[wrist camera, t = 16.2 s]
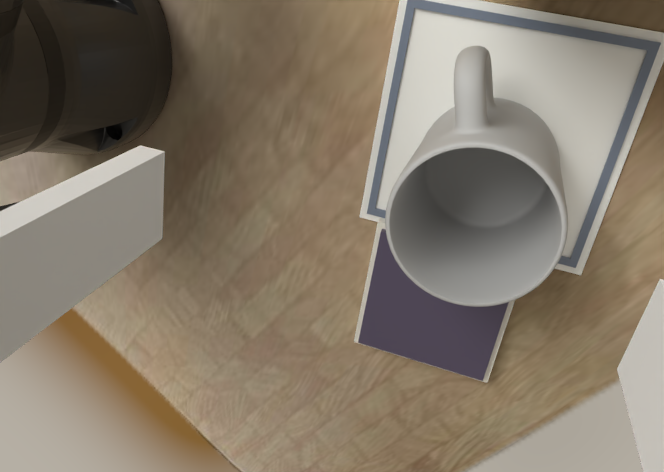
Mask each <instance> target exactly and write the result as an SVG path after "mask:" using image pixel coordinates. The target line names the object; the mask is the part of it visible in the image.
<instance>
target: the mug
mask: <svg viewBox="0 0 664 472" xmlns="http://www.w3.org/2000/svg"><path fill="white" fill-rule="evenodd" d="M454 104H455V106H454V107H453V108H451V109H449V110H448V111H447V112H445V113H444V114H443V115H441V116H440V117H439V118H438V119H437V120H436V121H435V122H434V123H433V125H432V126H431V127H430V129H429V130H428V132H427V133H426V135H425V137H424V138H423V140H422V142H421V144H420V145H419V147H418V148H417V150H416V151H415V153H414V154H413V156H412V157H411V159H410V160H409V162H408V163H407V165H406V166H405V168H404V169H403V171H402V172H401V174H400V175H399V177H398V179H397V181H396V182H395V184H394V186H393V188H392V191H391V193H390V196H389V199H388V203H387V207H386V215H385V228H386V235H387V240H388V243H389V246H390V250H391V252H392V254H393V256H394V258H395V260H396V262H397V263H398V265H399V266H400V268H401V269H402V270H403V272H404V273H405V274H406V275H407V277H408V278H410V279H411V280H412V281H413V282H414V283H415V284H416V285H417V286H419V287H420V288H421V289H423V290H424V291H426V292H427V293H429V294H431V295H433V296H435V297H437V298H439V299H441V300H444V301H447V302H450V303H453V304H458V305H463V306H473V307H486V306H494V305H500V304H504V303H507V302H511V301H513V300H516V299H518V298H520V297H522V296H524V295H526V294H528V293H529V292H531V291H532V290H534V289H535V288H536V287H538V286H539V285H540V284H541V283H542V282H543V281H544V280H545V279H546V278H547V277H548V276H549V275H550V274H551V272H552V271H553V270H554V269H555V267H556V265H557V263H558V262H559V260H560V258H561V256H562V253H563V251H564V248H565V244H566V239H567V233H568V213H567V206H566V199H565V193H564V187H563V181H562V175H561V168H560V156H559V151H558V146H557V144H556V141H555V138H554V136H553V134H552V132H551V131H550V129H549V127H548V126H547V125H546V123H545V122H544V121H543V120H542V119H541V118H540V117H539V116H538V115H537V114H536V113H534V112H533V111H532V110H530V109H529V108H527V107H525V106H523V105H522V104H519V103H517V102H514V101H511V100H507V99H503V98H494V97H493V80H492V65H491V58H490V53H489V51H488V50H487V49H486V48H485V47H482V46H470V47H467V48H465V49H463V50H461V52H460V53H459V54H458V56H457V59H456V62H455V69H454Z"/></svg>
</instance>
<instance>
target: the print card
mask: <svg viewBox="0 0 664 472" xmlns="http://www.w3.org/2000/svg"><path fill="white" fill-rule="evenodd" d="M470 46H482V47H485V48H486V49H487V50H488V51H489V53H490V58H491V65H492V80H493V97H494V98H503V99H507V100H511V101H514V102H517V103H519V104H522V105H523V106H525V107H527V108H529V109H530V110H532V111H533V112H534V113H536V114H537V115H538V116H539V117H540V118H541V119H542V120H543V121H544V122H545V123H546V125H547V126H548V127H549V129H550V131H551V132H552V134H553V136H554V138H555V141H556V144H557V146H558V151H559V156H560V168H561V175H562V181H563V187H564V193H565V199H566V206H567V213H568V233H567V239H566V244H565V248H564V251H563V253H562V256H561V258H560V260H559V262H558V263H557V265H556V267H555V269H558V270H562V271H566V272H570V273H573V274H577V275H581V274H582V272H583V269H584V266H585V264H586V261H587V259H588V256H589V253H590V251H591V248H592V246H593V243H594V240H595V238H596V235H597V233H598V230H599V228H600V225H601V222H602V220H603V217H604V215H605V212H606V209H607V207H608V204H609V202H610V199H611V196H612V194H613V191H614V189H615V186H616V183H617V181H618V178H619V176H620V173H621V171H622V168H623V165H624V163H625V160H626V158H627V155H628V152H629V150H630V147H631V145H632V142H633V139H634V137H635V134H636V132H637V129H638V126H639V124H640V121H641V119H642V116H643V114H644V111H645V108H646V106H647V103H648V101H649V98H650V95H651V93H652V90H653V88H654V85H655V82H656V80H657V77H658V75H659V72H660V69H661V67H662V64H663V62H664V33H663V32H657V31H652V30H646V29H640V28H635V27H629V26H623V25H617V24H612V23H606V22H600V21H595V20H589V19H583V18H578V17H572V16H566V15H561V14H555V13H549V12H543V11H538V10H532V9H526V8H521V7H515V6H509V5H504V4H498V3H492V2H487V1H481V0H400V1H399V6H398V11H397V17H396V22H395V28H394V33H393V38H392V44H391V49H390V55H389V60H388V65H387V71H386V76H385V82H384V87H383V92H382V98H381V103H380V109H379V114H378V119H377V125H376V130H375V136H374V141H373V146H372V152H371V157H370V163H369V168H368V173H367V179H366V184H365V190H364V195H363V200H362V206H361V211H360V218H364V219H368V220H372V221H375V222H378V221H379V219H380V218H381V217H382V218H385V215H386V207H387V203H388V199H389V196H390V193H391V191H392V188H393V186H394V184H395V182H396V181H397V179H398V177H399V175H400V174H401V172H402V171H403V169H404V168H405V166H406V165H407V163H408V162H409V160H410V159H411V157H412V156H413V154H414V153H415V151H416V150H417V148H418V147H419V145H420V144H421V142H422V140H423V138H424V137H425V135H426V133H427V132H428V130H429V129H430V127H431V126H432V125H433V123H434V122H435V121H436V120H437V119H438V118H439V117H440V116H441V115H443V114H444V113H445V112H447V111H448V110H449V109H451V108H453V107H454V106H455V104H454V69H455V62H456V59H457V56H458V54H459V53H460V52H461V50H463V49H465V48H467V47H470Z"/></svg>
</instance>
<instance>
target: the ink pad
mask: <svg viewBox="0 0 664 472" xmlns="http://www.w3.org/2000/svg"><path fill="white" fill-rule="evenodd" d="M514 302H515V300H513V301H511V302H507V303H504V304H500V305H494V306H486V307H473V306H463V305H458V304H453V303H450V302H447V301H444V300H441V299H439V298H437V297H435V296H433V295H431V294H429V293H427V292H426V291H424V290H423V289H421V288H420V287H419V286H417V285H416V284H415V283H414V282H413V281H412V280H411V279H410V278H408V277H407V275H406V274H405V273H404V272H403V270H402V269H401V268H400V266H399V265H398V263H397V262H396V260H395V258H394V256H393V254H392V252H391V250H390V246H389V243H388V240H387V235H386V228H385V218H382V217H381V218H380V219H379V221H378V224H377V229H376V234H375V239H374V244H373V249H372V254H371V259H370V264H369V269H368V273H367V278H366V283H365V288H364V293H363V298H362V303H361V308H360V313H359V318H358V323H357V328H356V333H355V338H354V342H356V343H359V344H362V345H366V346H369V347H372V348H375V349H379V350H382V351H385V352H388V353H392V354H395V355H398V356H401V357H405V358H408V359H411V360H414V361H418V362H421V363H424V364H427V365H431V366H434V367H437V368H440V369H443V370H447V371H450V372H453V373H456V374H460V375H463V376H466V377H469V378H473V379H476V380H479V381H482V382H486V383H487V382H488V379H489V377H490V374H491V371H492V368H493V365H494V362H495V359H496V356H497V353H498V350H499V347H500V344H501V341H502V338H503V335H504V332H505V329H506V326H507V323H508V320H509V317H510V314H511V311H512V308H513V305H514Z"/></svg>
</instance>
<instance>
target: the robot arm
mask: <svg viewBox="0 0 664 472" xmlns="http://www.w3.org/2000/svg"><path fill="white" fill-rule="evenodd" d="M171 69H172V56H171V45H170V38H169V33H168V29H167V25H166V22H165V19H164V16H163V13H162V10H161V8H160V5H159V3H158V1H157V0H0V161H2V160H5V159H8V158H11V157H14V156H16V155H19V154H22V153H25V152H28V151H32V152H48V153H64V154H80V155H86V154H95V153H101V152H105V151H108V150H111V149H113V148H116V147H118V146H121V145H123V144H126V143H128V142H130V141H132V140H134V139H136V138H137V137H139V136H140V135H141V134H143V133H144V132H145V131H146V130H147V129H148V128H149V127H150V126H151V125H152V123H153V122H154V121H155V119H156V118H157V117H158V115H159V113H160V111H161V109H162V107H163V105H164V103H165V100H166V97H167V94H168V90H169V85H170V79H171ZM164 166H165V151H161V150H157V149H153V148H149V147H145V146H141V145H140V146H138V147H136V148H134V149H131V150H129V151H127V152H125V153H123V154H121V155H119V156H117V157H114V158H112V159H110V160H108V161H106V162H104V163H102V164H100V165H97V166H95V167H93V168H91V169H89V170H87V171H85V172H83V173H80V174H78V175H76V176H74V177H72V178H70V179H68V180H66V181H63V182H61V183H59V184H57V185H55V186H53V187H51V188H49V189H46V190H44V191H42V192H40V193H38V194H36V195H34V196H32V197H29V198H27V199H25V200H23V201H21V202H17V203H13V204H9V205H4V206H0V362H2V361H3V360H4V359H6V358H7V357H8V356H10V355H11V354H12V353H13V352H15V351H16V350H17V349H19V348H20V347H21V346H23V345H24V344H25V343H27V342H28V341H29V340H31V339H32V338H33V337H34V336H36V335H37V334H38V333H40V332H41V331H42V330H43V329H45V328H46V327H48V326H49V325H50V324H51V323H53V322H54V321H55V320H57V319H58V318H59V317H61V316H62V315H63V314H65V313H66V312H67V311H68V310H70V309H71V308H72V307H74V306H75V305H76V304H78V303H79V302H80V301H82V300H83V299H84V298H85V297H87V296H88V295H89V294H91V293H92V292H93V291H95V290H96V289H97V288H99V287H100V286H101V285H102V284H104V283H105V282H106V281H108V280H109V279H110V278H112V277H113V276H114V275H116V274H117V273H118V272H119V271H121V270H122V269H123V268H125V267H126V266H127V265H129V264H130V263H131V262H133V261H134V260H135V259H137V258H138V257H139V256H140V255H142V254H143V253H144V252H146V251H147V250H148V249H150V248H151V247H152V246H154V245H155V244H156V243H157V242H159V241H160V240H161V239H162V238H163V202H164ZM617 371H618V375H619V379H620V383H621V387H622V391H623V394H624V399H625V402H626V406H627V410H628V414H629V418H630V422H631V426H632V430H633V434H634V438H635V442H636V446H637V450H638V454H639V457H640V462H641V466H642V469H643V472H664V280H662V279H660V280H659V282H658V284H657V286H656V288H655V290H654V292H653V294H652V297H651V299H650V301H649V303H648V305H647V307H646V309H645V311H644V313H643V315H642V318H641V320H640V322H639V324H638V326H637V328H636V330H635V332H634V334H633V337H632V339H631V341H630V343H629V345H628V347H627V349H626V351H625V353H624V355H623V358H622V360H621V362H620V364H619V366H618V368H617Z"/></svg>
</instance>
